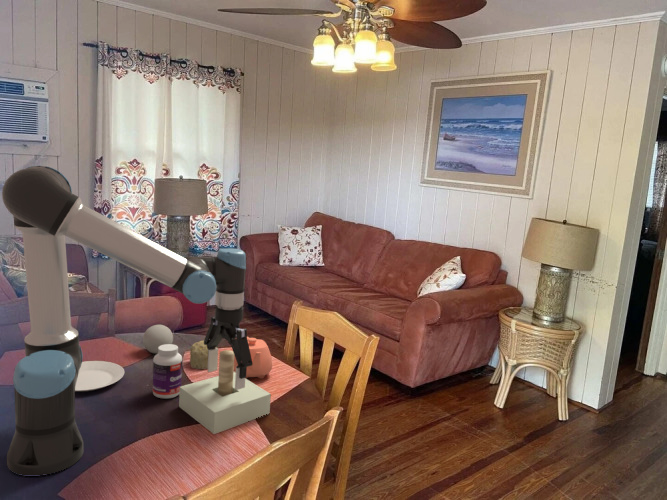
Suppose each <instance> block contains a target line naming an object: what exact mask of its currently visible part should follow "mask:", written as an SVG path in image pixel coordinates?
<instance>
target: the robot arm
mask: <svg viewBox="0 0 667 500" xmlns="http://www.w3.org/2000/svg"><path fill="white" fill-rule="evenodd" d="M1 194H2V195H1V197H2V201H3V204H4V206H5V208H6V209H7V210H8V212H9V213H10V215H12V216H13V217H12V218H13V227H14V228H15V229H17V230H18V231H19V232H20V233H22V241H23V252H24V253H23V254H24V255H23V256H24V264H25V276H26V288H27V299H28V311H29V323H30V332H28V333H27V335H26V336H25V337H24V338H23V339H24V340H23V341H24V350H25V352H24V353H25V356H24V357H23V358H21V359H20V360H18V362H17V363H16V365H15V368H14V373H13V376H12V382H13V389H14V416H15V418H14V419H15V421H14V422H15V431H14V435H13V436H12V440H11V442H10V445H9V448H8V450H7V454H6V466H8V467H7V469H8V468H9V469H10V470H11V471H13V472H15V473H17V474H22V475H43V474H50V473H54V472H57V473H59V472H58V471H60V472H62V471H64V469H65V470H67V469H68V468H70V467H72V466H74V465H75V464H76V463H77V462H79V460H81V458H82V457H83V455H84V440H83V437H82V434H81V432H80V430H79V427H78V425H77V422H76V418H75V417H76V402H75V401H76V400H75V399H76V397H75V396H76V394H75V393H76V391H75V386H76V382H77V378H78V374H79V370H80V367H81V364H82V362H83V360H84V359H83V357H84V356H83V350H82V347H81V345H80V337H79V331H78V330H77V329H76V328H75V327H73V326H72V320H71V303H70V290H69V278H68V277H69V275H68V273H69V272H68V262H67V261H68V259H67V246H66V237H67V238H68V239H71V240H73V241H75V242H77V243H79V244H81V245H83V246H85V247H87V248H89V249H92V250H94V251H96V252H97V253H100V254H102V255H104V256H106V257H108V258H110V259H111V260H114V261H116V262H118V263H119V264H123V265H124V266H126V267H128V268H131V269H133V270H134V271H136V272H139V273H141V274H142V275H145V276H146V277H148V278H151V279H152V280H154V281H157V282H159V283H161V284H163V285H165V286H167V287H170V288H171V289H173V290H175V291H176V292H179V293H180V294H183V296H184V297H185V298H186V299H187V301H190V302H191V303H193V304H196V305H197V304H205V303H207V302H209V301H211V300H212V299H213V298H214V297H215V302H214V304H215V305H216V306H215V307H214V316H212V317H211V318H210V324H209V326H208V330H207V332H206V335H205V337H204V339H203V340H204V345H207V348H208V369H207V372H208V373H212V372H216V371H218V365H219V362H218V361H219V344H220V342H221V341H222V340H223V339H225V341H227V343H228V345H230V346H231V347H230V348H231V349H232V351H233V352H234V355H235V358H236V361H237V363H238V366H236V377H235V390H238V389H242V388H245V378H246V371H247V367H248V366H252V364H253V363H252V358H251V354H250V349H249V345H248V340H247V337H248V330H247V328H240V322H242V320H243V319H244V307H243V306H244V301H245V299H244V298H245V284H246V283H245V281H246V270H247V265H246V263H247V258H246V257H247V255H246V252H245V251H243V250H242V249H240V248H239V249H238V248H231V247H230V248H221V249H219V250H218V251H217V254H216V256H186V255H183V256H181V255H179V254H178V253H176V252H174V251H172V250H170V249H169V248H166V247H164V246H162V245H161V244H158V243H157V242H155V241H153V240H151V239H148V238H147V237H145V236H143V235H141V234H140V233H138V232H136V231H134V230H132V229H130V228H128V227H126V226H124V225H123V224H121V223H119V222H116V221H114V220H113V219H111V218H109V217H107V216H105V215H104V214H101V212H99V211H98V212H97V211H96V210H94V209H92V208H90V207H88V206H86V205H84V204H83V202H82V201H83V200H82V199H81V197H79V196H77V195H76V194H74V193H73V190H72V186H71V184H70V181H69V180H68V178H67V177H66V176H65V175H64V174H63V173H61V172H60V171H59V170H58V169H56V168H53V167H50V166H46V165H45V166H44V165H33V166H29V167H26V168H23V169H20V170H17V171H15V172H13V173H12V174H11V175H10V176H9V177H7V179H6V180H5V182H4V184H3V186H2V191H1ZM215 347H217V348H215ZM241 361H242V362H241ZM66 468H67V469H66ZM9 469H8V470H9ZM10 470H9V471H10ZM61 470H62V471H61ZM11 471H10V472H11ZM54 474H55V473H54ZM50 475H51V474H50Z"/></svg>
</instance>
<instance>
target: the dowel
mask: <svg viewBox="0 0 667 500" xmlns="http://www.w3.org/2000/svg"><path fill="white" fill-rule="evenodd" d="M218 361H219V362H218V376H219V379H218V394H219V395H221V396H222V397H223V396H226V395H230V394H232V392H233V372H234V352H233V350H229V349H225V350H221V351H220V352H219V355H218Z"/></svg>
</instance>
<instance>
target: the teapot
mask: <svg viewBox="0 0 667 500" xmlns="http://www.w3.org/2000/svg"><path fill="white" fill-rule="evenodd" d="M247 340H248V345H249V349H250V354H251V358H252V363H253V364H252V366H248V367H247V371H246V378H245V379H247V380H248V378H258V379H265V377H266V375H269V374H270V373H271V371H272V369H273V360H272V359H273V358H272V354H271V351H270V349H269V346H268V345H267V342H266V341H265V340H264V339H259V338H258V339H257V338H256V337H249V336H247ZM241 362H242V361H241ZM236 366H238V363H237V361H236V358H235V355H234V372H235V373H236Z"/></svg>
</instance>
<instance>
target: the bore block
mask: <svg viewBox="0 0 667 500" xmlns="http://www.w3.org/2000/svg"><path fill="white" fill-rule="evenodd" d="M235 377H236V373H235V372H233V392H232V394H230V395H226V396H223V397H222V396H221V395H219V394H218V379H219V375H217V376H213V377H210V378H206V379H203V380H199V381H195V382H192V383H189V384H185V385H181V387H180V393H179V395H178V396H179V402H178V405H179V406H178V407H179V408H180V409H181V410H182V411H184V412H185V413H186V414H188V415H189V416H190V417H191V418H193V419H194V420H195V421H197V422H198V423H199V424H200V425H202V426H203V427H204V428H205V429H206V430H208V431H210V433H211V434H213V435H215V434H218V433H221V432H223V431H227V430H230V429H232V428H234V427H237V426H240V425H242V424H245V423H248V421H249V422H250V421H254V420H257V419H259V418H262V417H264V416H263V415H265V416H267V415H270V414H269V413H270V412H271V411H270V409H271V396H272V395H271V394H272V393H270V392H268V391H267V390H265V389H264V388H261V387H260V385H259V386H258V385H257V384H255V383H254V382H252V381H250V380H249V379H248V378H247V379H245V388H242V389H238V390H235ZM266 414H267V415H266ZM261 416H262V417H261ZM258 417H259V418H258ZM256 418H257V419H256Z"/></svg>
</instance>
